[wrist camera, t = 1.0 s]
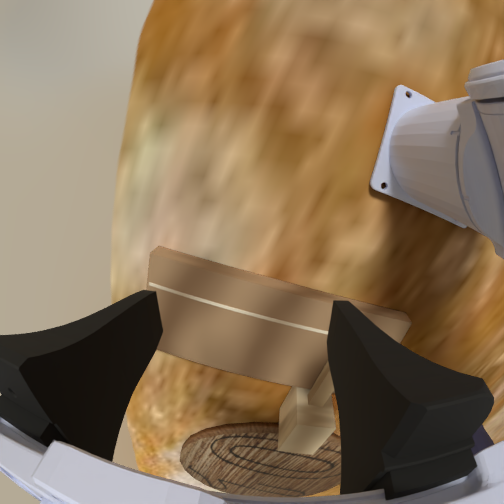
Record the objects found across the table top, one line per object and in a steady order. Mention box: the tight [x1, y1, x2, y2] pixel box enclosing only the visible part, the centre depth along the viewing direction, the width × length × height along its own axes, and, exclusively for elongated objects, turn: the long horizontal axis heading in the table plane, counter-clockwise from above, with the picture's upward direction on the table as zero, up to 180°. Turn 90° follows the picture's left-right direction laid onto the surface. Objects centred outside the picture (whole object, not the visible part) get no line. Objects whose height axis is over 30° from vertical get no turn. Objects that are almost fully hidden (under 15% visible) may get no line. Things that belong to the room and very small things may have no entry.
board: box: [146, 246, 412, 393], centre depth 22 cm, size 21×9×2 cm, turn 75°
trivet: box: [180, 422, 341, 497], centre depth 31 cm, size 25×25×2 cm
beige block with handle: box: [278, 361, 336, 455], centre depth 22 cm, size 4×14×6 cm, turn 165°
